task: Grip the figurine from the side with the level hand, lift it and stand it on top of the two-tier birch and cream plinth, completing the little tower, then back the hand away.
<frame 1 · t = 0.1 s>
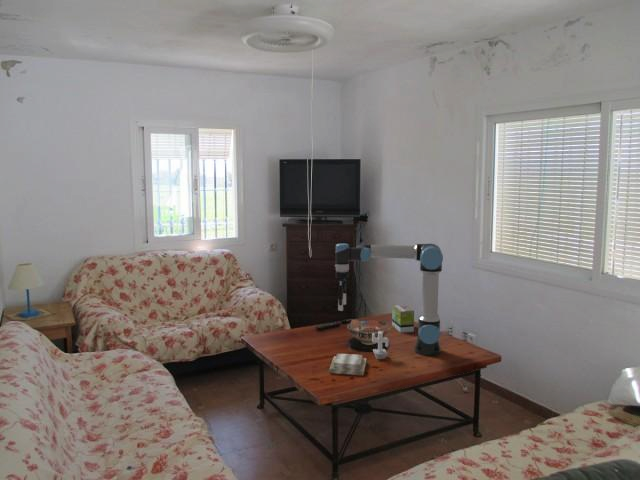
hand: (342, 307, 295), 28 cm above the table, tool pointing down, fingers open, 13 cm apart
plinth: (348, 367, 279), on the table
figurine: (379, 357, 294), on the table
tea box: (402, 329, 345), on the table
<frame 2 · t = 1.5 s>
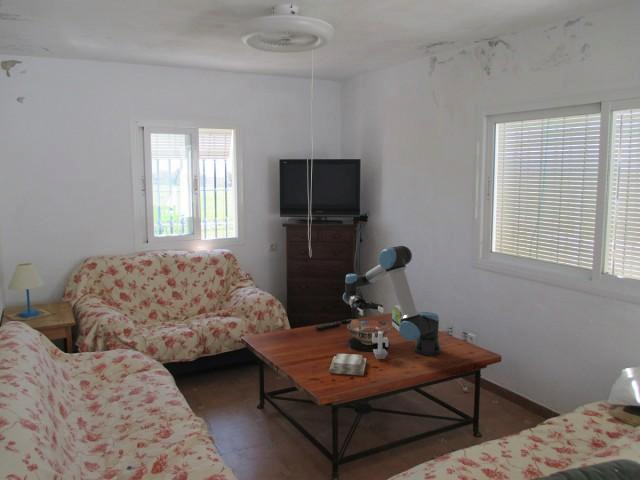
hand: (373, 312, 299), 24 cm above the table, tool horizontal, fingers open, 13 cm apart
nothing on the table moved.
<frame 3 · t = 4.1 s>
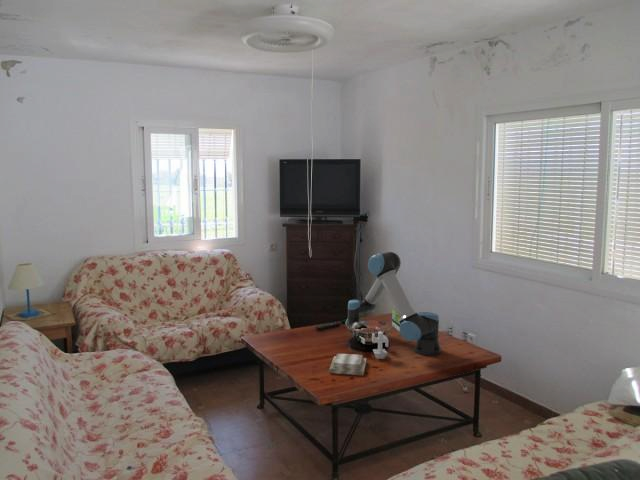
hand: (375, 340, 298), 8 cm above the table, tool horizontal, fingers open, 13 cm apart
nothing on the table moved.
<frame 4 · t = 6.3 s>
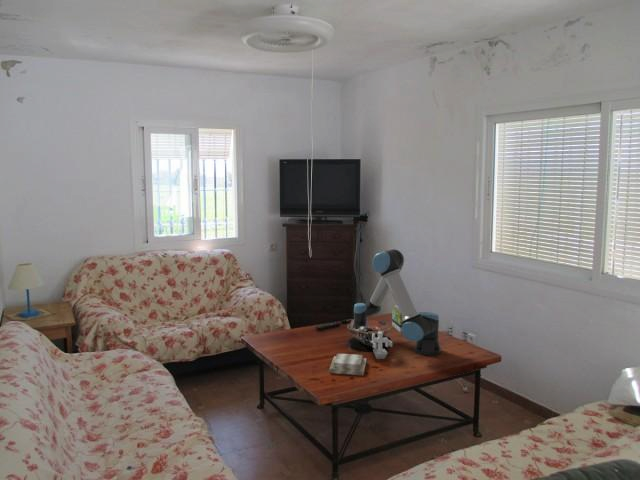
hand: (383, 345, 288), 9 cm above the table, tool horizontal, fingers closed on figurine, 9 cm apart
figurine: (379, 357, 294), on the table, touching gripper
everything else where it was.
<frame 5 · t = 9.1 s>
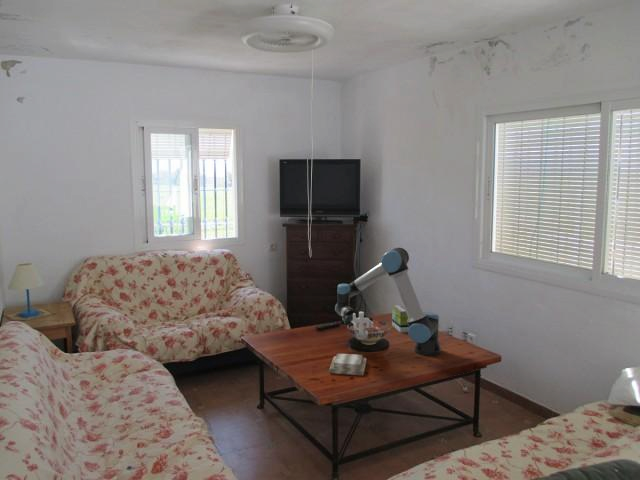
hand: (364, 325, 281), 22 cm above the table, tool horizontal, fingers closed on figurine, 9 cm apart
figurine: (360, 338, 287), point 13 cm above the table, touching gripper
everything else where it was.
when the fingers open (15 cm above the table, at t = 12.2 s): figurine drops 1 cm, resting on plinth.
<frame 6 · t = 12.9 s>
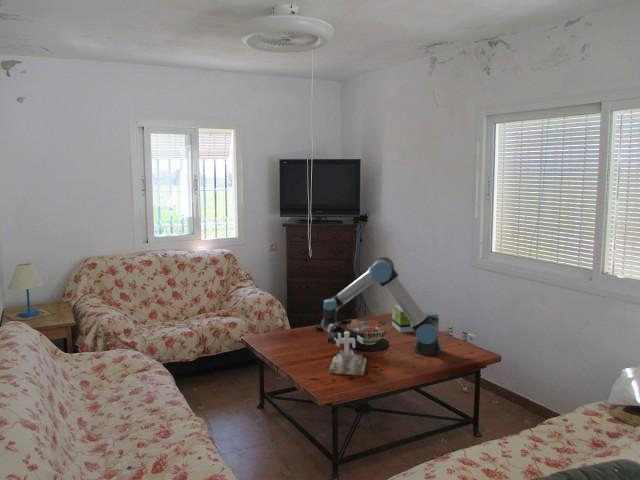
hand: (350, 342, 274), 15 cm above the table, tool horizontal, fingers open, 13 cm apart
figurine: (346, 359, 278), point 5 cm above the table, touching plinth
everything else where it was.
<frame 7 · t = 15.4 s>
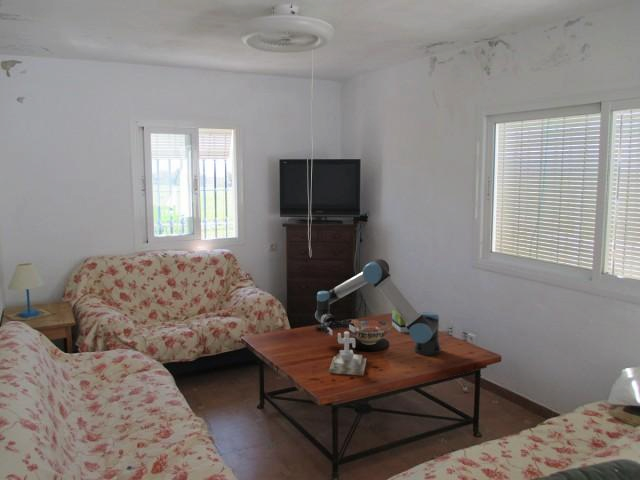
hand: (343, 331, 287), 17 cm above the table, tool horizontal, fingers open, 13 cm apart
nothing on the table moved.
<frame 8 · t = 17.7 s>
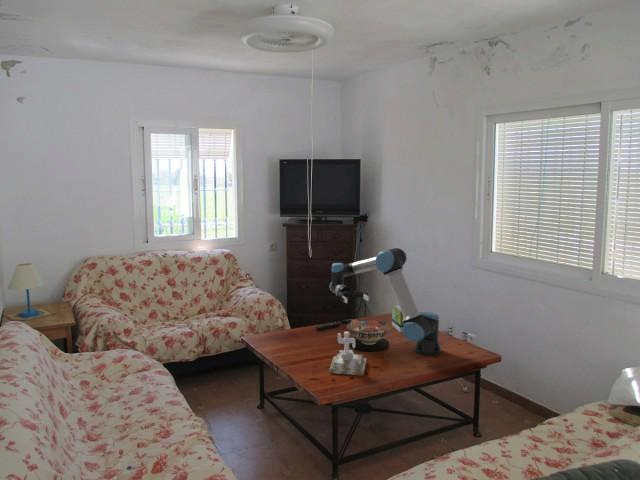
hand: (357, 299, 296), 32 cm above the table, tool horizontal, fingers open, 13 cm apart
nothing on the table moved.
at the end: figurine inside the target area on the plinth (1.0 cm from its centre), point 4.8 cm above the plinth's base; figurine tilted 0°; the gripper is holding nothing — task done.
